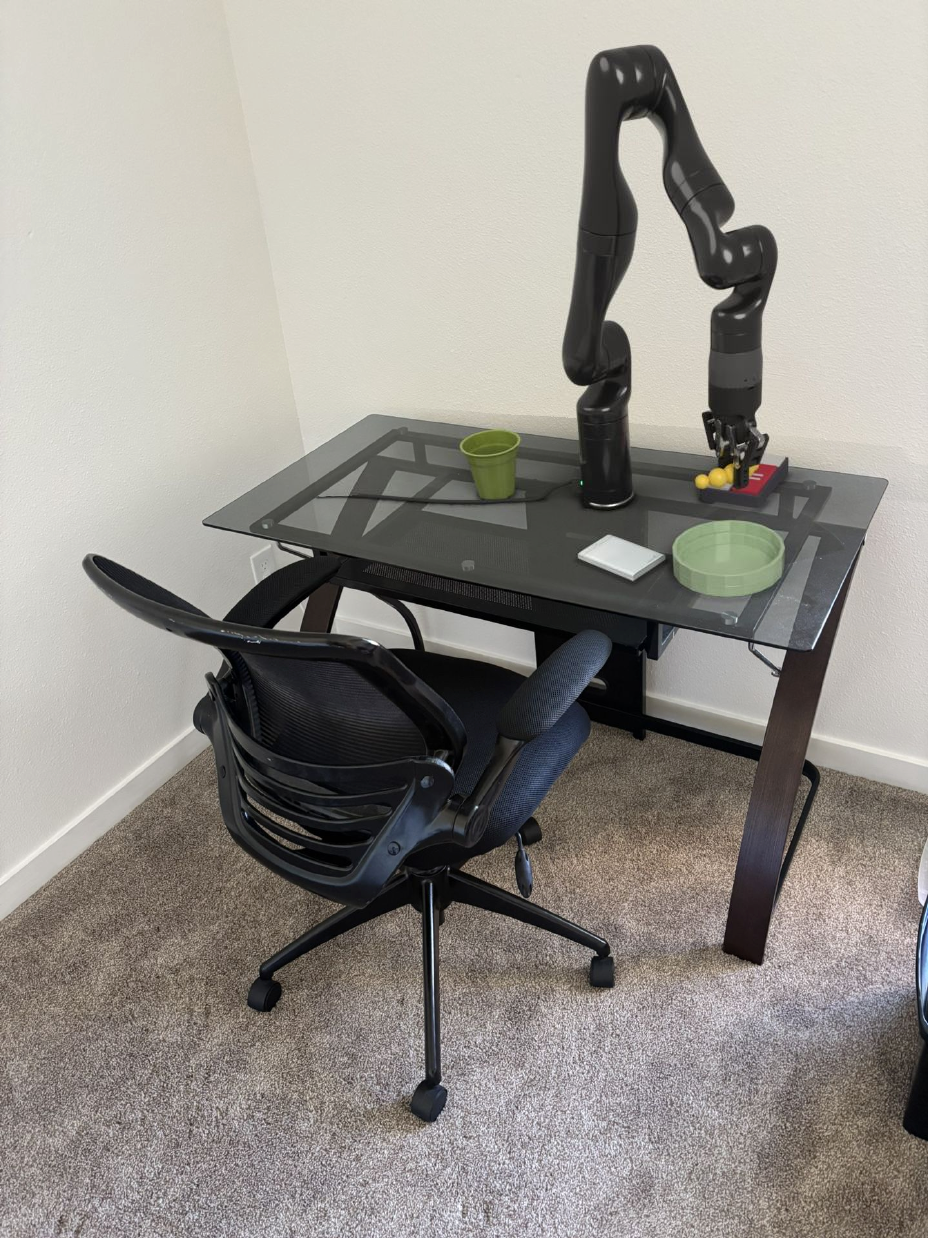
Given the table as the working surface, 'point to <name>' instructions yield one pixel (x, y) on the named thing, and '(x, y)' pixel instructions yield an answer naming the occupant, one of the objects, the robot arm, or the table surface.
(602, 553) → the hard drive
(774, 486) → the calculator
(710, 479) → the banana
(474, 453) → the plant pot
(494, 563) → the table surface
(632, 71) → the robot arm
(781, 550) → the bowl
